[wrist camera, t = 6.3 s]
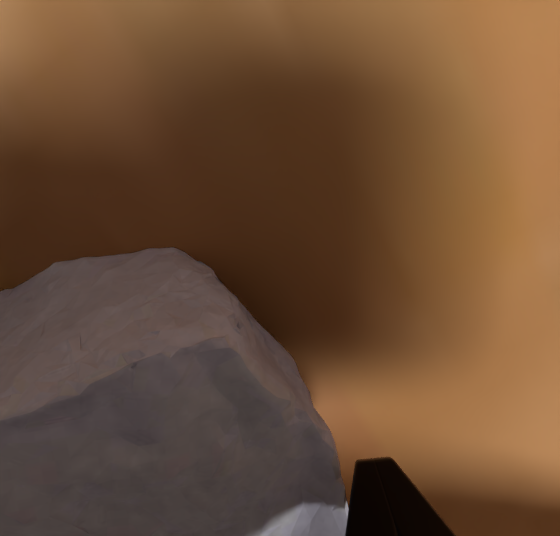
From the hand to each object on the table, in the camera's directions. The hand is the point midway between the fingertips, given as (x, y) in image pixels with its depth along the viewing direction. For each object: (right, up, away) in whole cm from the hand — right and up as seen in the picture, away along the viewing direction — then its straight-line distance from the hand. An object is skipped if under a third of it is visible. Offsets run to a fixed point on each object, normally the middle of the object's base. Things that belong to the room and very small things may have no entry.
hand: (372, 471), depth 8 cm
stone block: (-5, -1, +3) cm, 6 cm away
